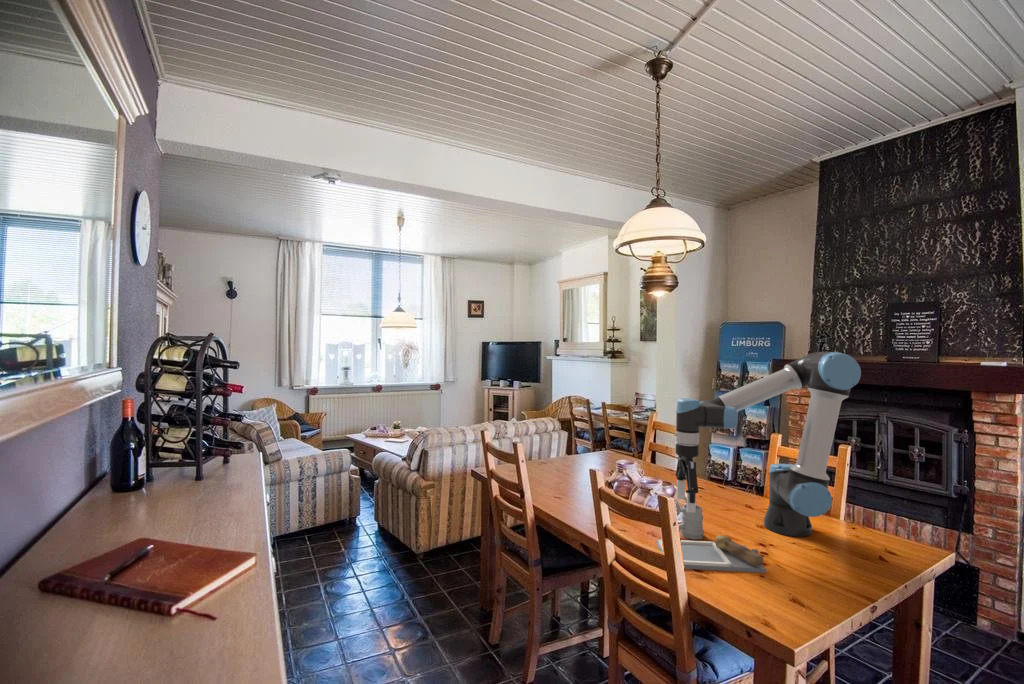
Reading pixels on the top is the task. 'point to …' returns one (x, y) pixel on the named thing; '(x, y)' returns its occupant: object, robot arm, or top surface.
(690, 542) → the board
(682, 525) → the mug
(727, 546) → the bar
